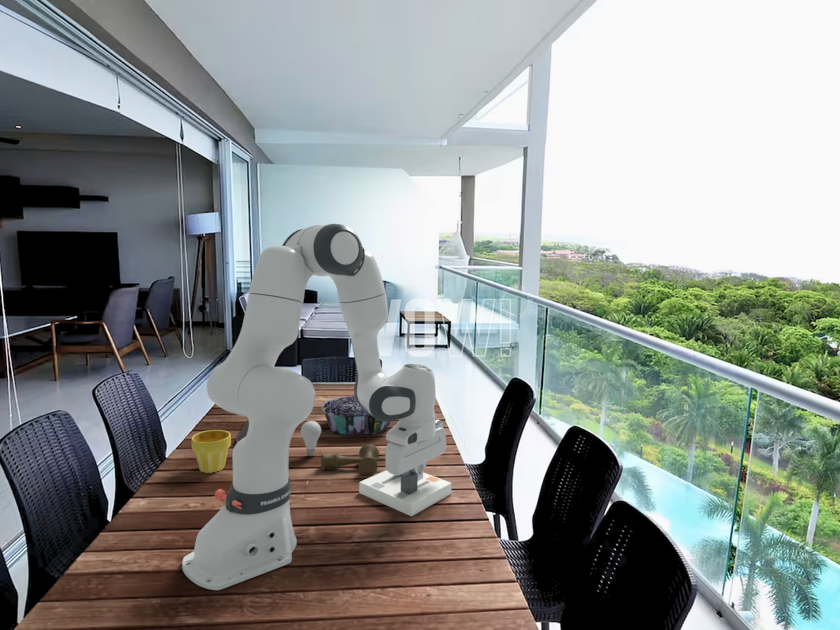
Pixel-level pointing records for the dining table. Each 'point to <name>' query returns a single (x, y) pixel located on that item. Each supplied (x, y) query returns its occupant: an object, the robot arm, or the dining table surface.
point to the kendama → (354, 460)
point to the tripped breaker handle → (409, 482)
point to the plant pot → (211, 449)
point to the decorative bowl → (351, 417)
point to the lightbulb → (310, 436)
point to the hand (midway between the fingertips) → (417, 479)
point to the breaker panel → (390, 494)
